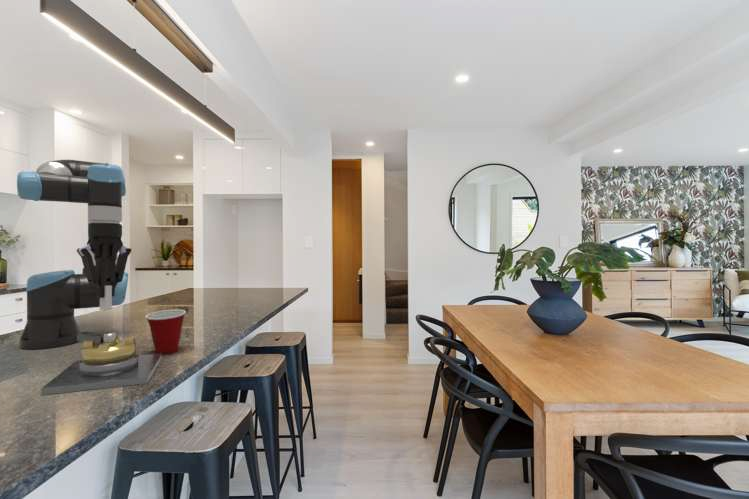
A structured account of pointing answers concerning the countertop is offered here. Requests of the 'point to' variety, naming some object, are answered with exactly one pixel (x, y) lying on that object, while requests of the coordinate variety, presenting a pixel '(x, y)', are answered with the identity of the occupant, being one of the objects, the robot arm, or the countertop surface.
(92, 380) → the flange plate
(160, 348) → the plastic cup
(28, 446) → the countertop surface
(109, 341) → the brass dial with lever
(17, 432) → the countertop surface
